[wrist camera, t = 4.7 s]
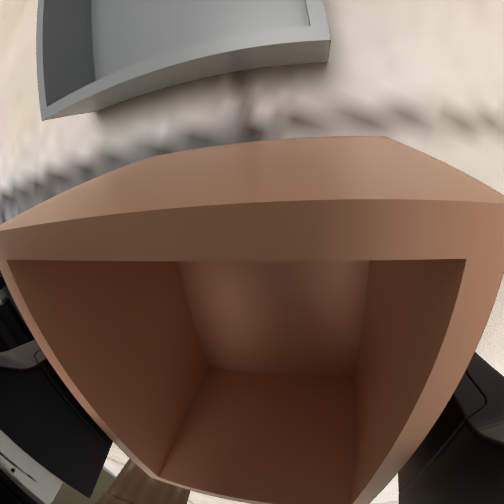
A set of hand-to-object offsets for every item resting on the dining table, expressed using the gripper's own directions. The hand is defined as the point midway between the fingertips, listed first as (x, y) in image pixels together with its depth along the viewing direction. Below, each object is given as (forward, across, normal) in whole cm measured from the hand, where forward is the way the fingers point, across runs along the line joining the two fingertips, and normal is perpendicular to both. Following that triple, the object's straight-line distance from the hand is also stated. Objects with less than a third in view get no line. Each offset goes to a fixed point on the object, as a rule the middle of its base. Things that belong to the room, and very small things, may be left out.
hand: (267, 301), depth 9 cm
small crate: (+1, 0, 0) cm, 1 cm away
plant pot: (+8, +25, +46) cm, 53 cm away
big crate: (+8, +5, -15) cm, 18 cm away
